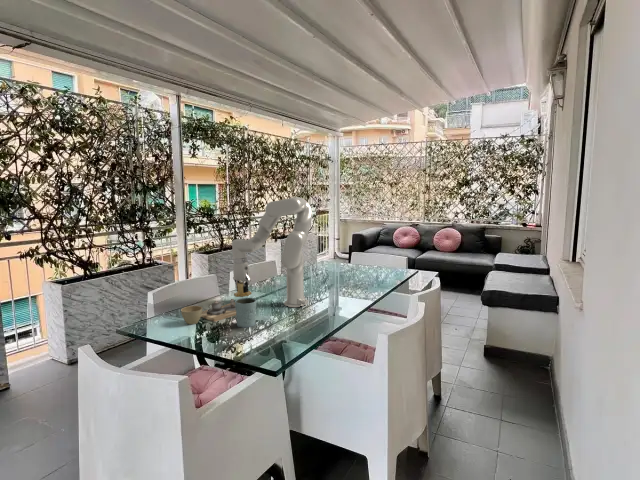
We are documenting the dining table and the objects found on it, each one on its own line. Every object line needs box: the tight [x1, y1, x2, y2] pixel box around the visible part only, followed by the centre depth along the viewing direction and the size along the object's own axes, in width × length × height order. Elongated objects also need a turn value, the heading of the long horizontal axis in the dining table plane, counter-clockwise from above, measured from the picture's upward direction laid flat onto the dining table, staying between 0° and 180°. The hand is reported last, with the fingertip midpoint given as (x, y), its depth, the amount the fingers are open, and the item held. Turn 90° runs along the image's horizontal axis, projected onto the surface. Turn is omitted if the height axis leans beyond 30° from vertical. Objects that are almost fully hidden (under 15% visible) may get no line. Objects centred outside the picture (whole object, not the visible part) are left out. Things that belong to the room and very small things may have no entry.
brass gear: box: [233, 281, 253, 298], centre depth 219 cm, size 10×10×7 cm
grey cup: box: [234, 297, 257, 329], centre depth 183 cm, size 10×10×12 cm
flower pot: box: [180, 305, 203, 325], centre depth 187 cm, size 10×10×7 cm
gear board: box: [200, 298, 236, 322], centre depth 202 cm, size 15×25×7 cm, turn 140°
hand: (242, 291), depth 220 cm, fingers closed on brass gear, 5 cm apart
